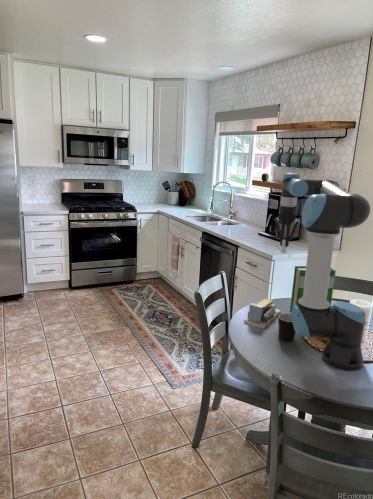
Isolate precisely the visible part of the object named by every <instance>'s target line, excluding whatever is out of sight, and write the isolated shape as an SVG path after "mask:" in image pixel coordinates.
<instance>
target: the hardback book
mask: <svg viewBox="0 0 373 499" xmlns="http://www.w3.org/2000/svg"><path fill="white" fill-rule="evenodd" d="M305 273H306V265H295V266H294V273H293V283H292V290H291V299H290V300H291V301H290V308H289V311H290V312H292V307H293V306H295V305H297V306H298V300H299V299H300V298H302V297H303V291H304V282H305ZM335 278H336V269H333V268H332V267H331V269H330V277H329V285H328V293H327V301H328V302H329V303H330V306H331V305H332V299H333V292H334V286H335V285H334V284H335ZM331 307H332V306H331Z"/></svg>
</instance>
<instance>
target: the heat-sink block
mask: <svg viewBox="0 0 373 499" xmlns="http://www.w3.org/2000/svg"><path fill="white" fill-rule="evenodd" d="M276 305H277V304H275V303H273V304H272V305H271V306H269V307H268V308H267V309H265V310H264V312H263V307H264V306H260V305H257V304H255V303H252V302H251V303H250V304H249V310H248V311H247V317H248V318H249V321H252V322H256V323H259V324H261V323H262V322H263V323H266V322H267V321H268V320H269V319H270V318H272V317H273V316H274V313H275V309H277V308H276V307H277V306H276Z"/></svg>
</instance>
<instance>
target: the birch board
mask: <svg viewBox="0 0 373 499" xmlns="http://www.w3.org/2000/svg"><path fill="white" fill-rule="evenodd" d="M281 312H282V310H281V309H278V308H275V313H274V316H273V317H272V318H270V319H269V320H268V321H267V322H266V323H263V322H262V323H261V324H259V323H256V322H252V321H249V318H248V316H247V317H246V318H244V320H243V323H244V324H248V325H251V326H254V327H257V328H261V329H265V328H266V327H268V325H269V324H270V323H271V322H273V320H275V319H276V318H277V317H278V316H279V315H280V314H282V313H281Z"/></svg>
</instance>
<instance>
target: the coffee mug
mask: <svg viewBox="0 0 373 499" xmlns="http://www.w3.org/2000/svg"><path fill="white" fill-rule="evenodd" d="M277 317H278V340H280V341H281V342H283V343H284V342H285V343H293V342H294V340H295V338H296V337H295V336H296V334H297V333H296V332H295V330H294V327H293V323H292V313H280V314H279V315H278V316H277Z"/></svg>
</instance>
